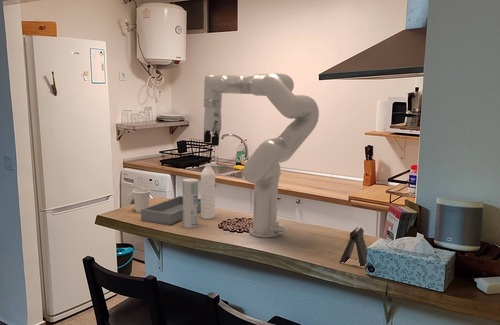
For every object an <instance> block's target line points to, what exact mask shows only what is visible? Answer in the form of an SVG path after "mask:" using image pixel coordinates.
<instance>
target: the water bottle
mask: <svg viewBox="0 0 500 325" xmlns="http://www.w3.org/2000/svg"><path fill="white" fill-rule="evenodd" d="M214 165H217V162H216V161H211V162H210V163H205V165H204V166H205V167H204V168H203V169H202V171H201V173H200V199H201V213H200V218H201V219H204V220H211V219H215V216H216V214H215V213H216V212H215V210H216V209H215V207H216V190H215V189H216V174H215V171H214V169H213V168H212V166H214Z"/></svg>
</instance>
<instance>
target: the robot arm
mask: <svg viewBox="0 0 500 325" xmlns="http://www.w3.org/2000/svg"><path fill="white" fill-rule="evenodd" d="M203 83H204V84H203V85H204V87H203V90H204V91H203V108H204V114H203V115H204V116H203V143H205V144H206V143H207V144H208V143H209V144H210V143H211V146H212V147H218V146H220V133H221V131H222V110H221V109H222V96H223V94H234V95H236V94H237V95H253V96H257V97H258V96H259V97H261V96H262V97H264V96H265V97H266V98H267V99H268V100H269V101H270V103H271V104H272V105H273V106H274V107H275V109H276V110H277V111H278V112H279V113H280V114H281V115H282V116H283V117H285V118H287V119H291V120H292V119H293V121H292V122H290V123H289V124H288V125H287V126H286V127H285V129H284V130H283V131H282V132H281V134H280V135H278V136H277V137H275V138H270V139H267V140H264V141H263V142H262V143H261V144H260V145H259V146H258V147H257V148H256V149H255V150H254V152H253V153H252V154H251V156H249V158H248V159H247V161H246V162H245V164H244V166H243V170H242V174H243V177H244V179H245V181H247V182H248V183H250V184H253V185H254V188H253V213H252V214H253V215H252V216H253V217H252V227H250V228H249V230H248V233H249V234H250V235H251V236H253V237H257V238H266V239H267V238H275V237H278V236H279V235H280V234H281V233H282V234H285V233H286V231H287V229H286V227H285V226H281V225H280V223H279V222H278V221H277V220H278V218H277V216H278V215H277V214H278V193H279V192H278V191H279V190H278V188H279V180H280V177H281V163H284V162H287V161H289V160H290V159H291V158H292V157H293V155H294V153H296V152H297V150H298V149H299V148H300V147H301V146H302V145H303V143H304V142H305V141H306V140H307V138H308V137H309V136H310V135H311V134H312V133H313V131H314V129H316V126H317V124H318V122H319V118H320V116H319V115H320V110H319V106H318V104H317V102H316V101H315V99H314V98H312V97H311V96H308V95H302V94H297V95H295V94H294V93H293V90H294V86H295V82H294V80H293V78H292V77H291V76H290V75H288V74H285V73H276V72H273V73H272V72H271V73H255V74H253V75H235V74H234V75H232V74H207V75H205V76H204V82H203Z"/></svg>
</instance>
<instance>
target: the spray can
mask: <svg viewBox="0 0 500 325" xmlns="http://www.w3.org/2000/svg"><path fill="white" fill-rule="evenodd" d="M182 196H183V221H182V226H183V227H184V228H186V229H187V228H188V229H191V228H193V229H194V228H196V227H198V222H199V220H198V218H199V216H198V215H199V214H198V199H199V179H197V178H183V179H182Z"/></svg>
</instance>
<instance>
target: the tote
mask: <svg viewBox="0 0 500 325" xmlns="http://www.w3.org/2000/svg"><path fill="white" fill-rule="evenodd" d="M199 214H201V198H198V215H199ZM140 221H143V222H147V223H153V224H160V225H165V226H174V225H176V224H179V223H181V222H183V195H182V196H181V195H179V196H176V197H173V198H169V199H168V200H163V201H162V202H159V203H155V204H151V205H148V207H147V208H144V209H141V212H140Z"/></svg>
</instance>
